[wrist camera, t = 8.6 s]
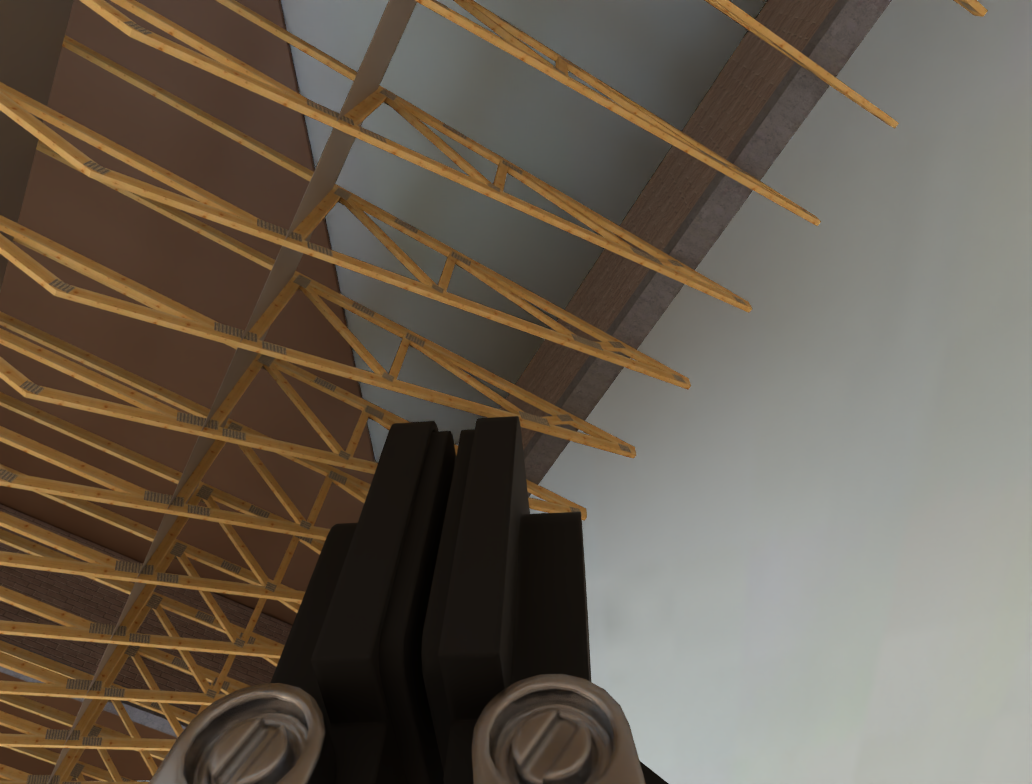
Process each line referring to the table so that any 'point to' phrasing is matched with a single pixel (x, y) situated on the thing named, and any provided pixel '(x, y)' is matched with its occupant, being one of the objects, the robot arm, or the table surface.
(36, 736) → the rafter model
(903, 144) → the table surface
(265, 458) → the brown flat board
